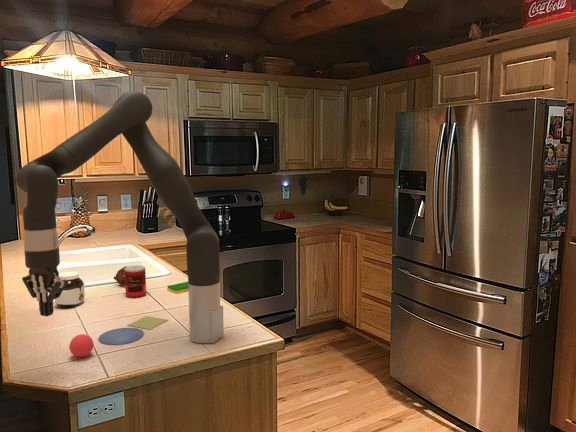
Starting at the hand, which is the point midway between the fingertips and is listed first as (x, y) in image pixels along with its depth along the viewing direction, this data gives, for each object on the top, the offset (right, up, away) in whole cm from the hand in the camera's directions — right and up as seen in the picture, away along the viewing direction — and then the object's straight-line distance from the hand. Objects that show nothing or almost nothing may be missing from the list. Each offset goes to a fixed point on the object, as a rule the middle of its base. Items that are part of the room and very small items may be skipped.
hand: (46, 314), depth 116 cm
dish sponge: (+19, -6, +74) cm, 76 cm away
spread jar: (-21, -8, +55) cm, 59 cm away
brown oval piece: (-8, -4, +80) cm, 80 cm away
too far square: (+15, -10, +36) cm, 40 cm away
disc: (+10, -12, +25) cm, 29 cm away
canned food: (+1, -6, +65) cm, 65 cm away
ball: (+4, -11, +11) cm, 16 cm away
